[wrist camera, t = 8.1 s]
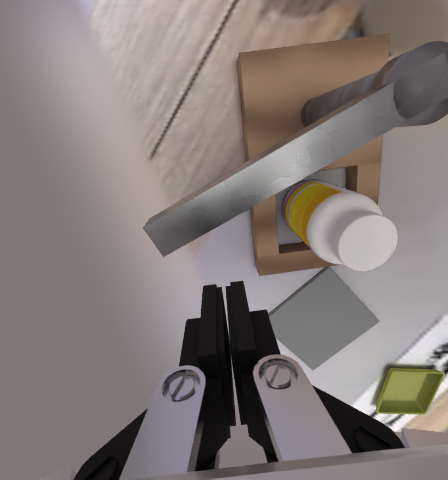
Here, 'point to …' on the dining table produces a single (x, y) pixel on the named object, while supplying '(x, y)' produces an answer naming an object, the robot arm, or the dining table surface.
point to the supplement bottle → (340, 225)
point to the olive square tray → (408, 391)
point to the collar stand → (305, 123)
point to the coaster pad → (320, 319)
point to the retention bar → (314, 146)
